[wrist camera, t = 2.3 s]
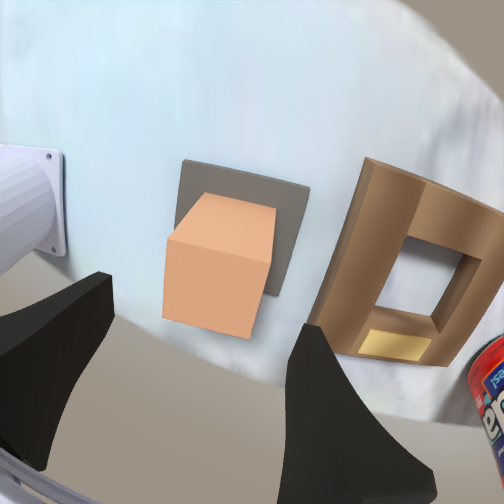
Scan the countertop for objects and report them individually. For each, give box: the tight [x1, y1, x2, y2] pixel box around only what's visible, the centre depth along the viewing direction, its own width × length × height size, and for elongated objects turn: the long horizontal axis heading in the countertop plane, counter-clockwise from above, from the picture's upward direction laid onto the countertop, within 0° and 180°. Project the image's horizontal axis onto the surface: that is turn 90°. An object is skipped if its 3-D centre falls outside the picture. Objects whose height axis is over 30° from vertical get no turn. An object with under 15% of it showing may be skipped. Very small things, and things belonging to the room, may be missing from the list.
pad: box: [174, 159, 310, 296], centre depth 18 cm, size 7×7×1 cm
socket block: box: [306, 157, 504, 367], centre depth 17 cm, size 12×12×2 cm
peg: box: [162, 193, 276, 339], centre depth 15 cm, size 4×4×6 cm
